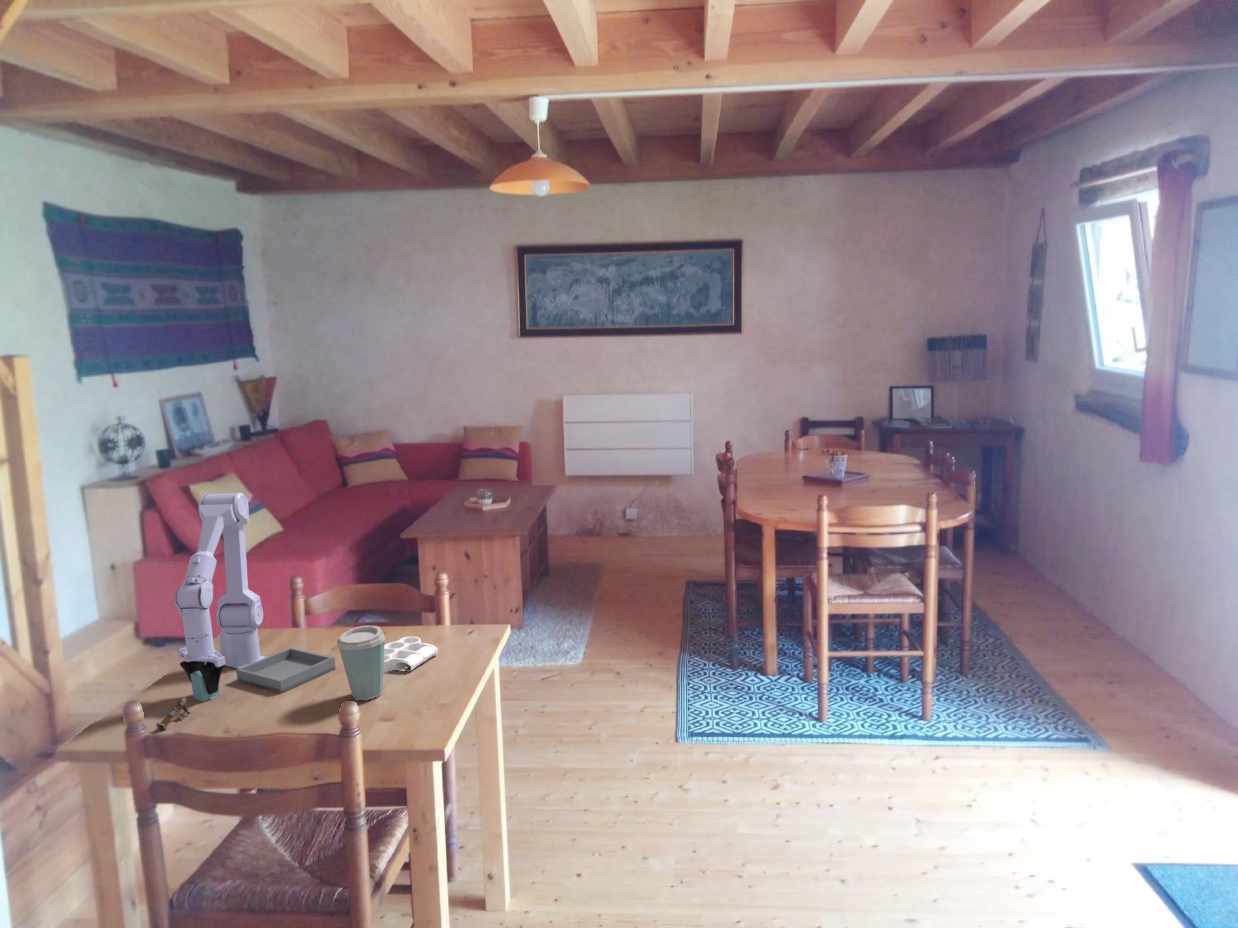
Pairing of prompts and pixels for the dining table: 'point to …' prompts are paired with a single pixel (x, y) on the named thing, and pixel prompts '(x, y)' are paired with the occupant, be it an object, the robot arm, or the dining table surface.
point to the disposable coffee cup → (363, 660)
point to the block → (200, 687)
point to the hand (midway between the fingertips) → (205, 690)
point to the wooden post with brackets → (173, 713)
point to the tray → (285, 670)
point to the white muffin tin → (406, 653)
